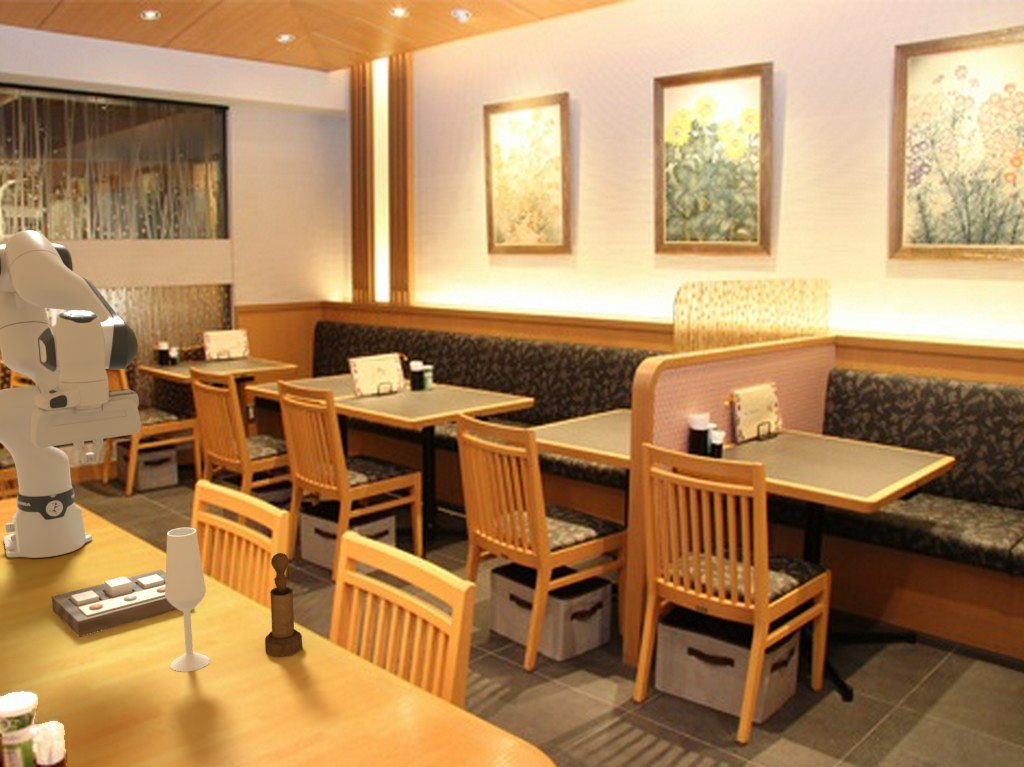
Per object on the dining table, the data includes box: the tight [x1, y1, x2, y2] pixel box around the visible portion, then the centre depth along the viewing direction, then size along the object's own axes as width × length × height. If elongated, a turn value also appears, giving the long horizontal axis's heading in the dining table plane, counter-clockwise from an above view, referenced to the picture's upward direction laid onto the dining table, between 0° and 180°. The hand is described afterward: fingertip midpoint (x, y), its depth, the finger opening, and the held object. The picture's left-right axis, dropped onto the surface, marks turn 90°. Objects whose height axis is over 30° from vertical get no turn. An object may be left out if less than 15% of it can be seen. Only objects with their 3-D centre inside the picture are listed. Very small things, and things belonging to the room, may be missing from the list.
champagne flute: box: [165, 527, 211, 673], centre depth 166 cm, size 7×7×24 cm
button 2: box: [137, 574, 164, 589], centre depth 197 cm, size 4×4×3 cm
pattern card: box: [78, 585, 165, 616], centre depth 188 cm, size 5×18×1 cm, turn 132°
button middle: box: [103, 576, 133, 598], centre depth 193 cm, size 4×4×3 cm
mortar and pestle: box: [264, 552, 303, 658], centre depth 172 cm, size 7×6×18 cm
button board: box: [51, 569, 178, 637], centre depth 192 cm, size 16×22×3 cm
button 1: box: [71, 590, 99, 607], centre depth 189 cm, size 4×4×3 cm
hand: (90, 462), depth 191 cm, fingers closed
